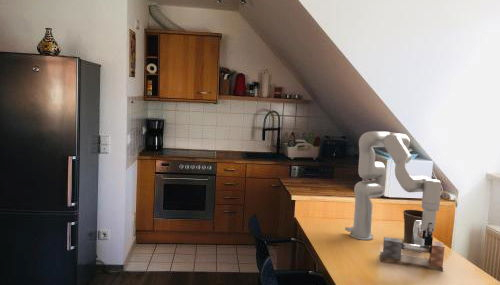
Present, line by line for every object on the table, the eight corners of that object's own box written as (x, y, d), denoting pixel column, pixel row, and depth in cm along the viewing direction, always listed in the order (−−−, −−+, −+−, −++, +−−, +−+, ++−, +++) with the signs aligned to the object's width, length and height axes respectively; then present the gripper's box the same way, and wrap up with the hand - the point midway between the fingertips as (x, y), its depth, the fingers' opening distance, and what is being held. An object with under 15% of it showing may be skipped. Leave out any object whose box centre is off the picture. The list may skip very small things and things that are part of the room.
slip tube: (394, 249, 193) (396, 230, 192) (394, 247, 196) (395, 228, 195) (438, 255, 187) (439, 236, 186) (437, 253, 190) (438, 234, 189)
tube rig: (380, 261, 192) (382, 239, 191) (380, 254, 201) (382, 233, 200) (442, 271, 184) (445, 248, 183) (439, 263, 193) (441, 241, 192)
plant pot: (432, 240, 227) (435, 212, 226) (432, 249, 213) (434, 219, 211) (401, 235, 234) (404, 207, 232) (399, 243, 219) (401, 214, 218)
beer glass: (425, 249, 212) (427, 221, 211) (426, 253, 206) (429, 225, 204) (411, 247, 214) (413, 219, 213) (411, 251, 208) (414, 223, 206)
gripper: (419, 200, 197) (416, 235, 199) (423, 209, 181) (420, 247, 182) (436, 202, 195) (433, 237, 197) (442, 211, 178) (438, 249, 180)
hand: (427, 242), depth 189 cm, fingers open, 8 cm apart
